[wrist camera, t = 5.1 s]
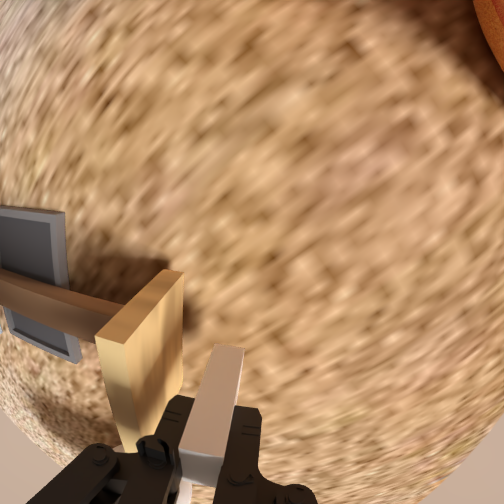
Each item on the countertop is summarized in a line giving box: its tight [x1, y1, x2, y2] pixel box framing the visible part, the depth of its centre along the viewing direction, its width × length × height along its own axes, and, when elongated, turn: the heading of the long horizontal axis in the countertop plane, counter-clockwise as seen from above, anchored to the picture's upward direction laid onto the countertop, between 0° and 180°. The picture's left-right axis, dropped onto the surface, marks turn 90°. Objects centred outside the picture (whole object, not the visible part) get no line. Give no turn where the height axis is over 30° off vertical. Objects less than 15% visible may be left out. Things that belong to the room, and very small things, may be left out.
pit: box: [0, 206, 82, 364], centre depth 18 cm, size 12×9×1 cm
